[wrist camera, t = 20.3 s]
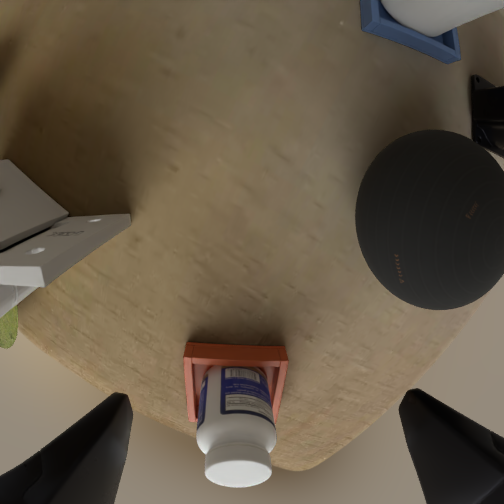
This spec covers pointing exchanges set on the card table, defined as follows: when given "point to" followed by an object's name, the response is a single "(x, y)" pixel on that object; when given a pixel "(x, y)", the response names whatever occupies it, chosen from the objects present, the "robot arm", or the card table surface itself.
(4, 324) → the green disc with hole
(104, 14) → the card table surface
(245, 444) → the pill bottle
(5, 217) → the hinge
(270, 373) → the terracotta tray
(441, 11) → the beverage can
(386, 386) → the card table surface
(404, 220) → the speaker
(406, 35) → the blue square tray
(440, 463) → the robot arm
